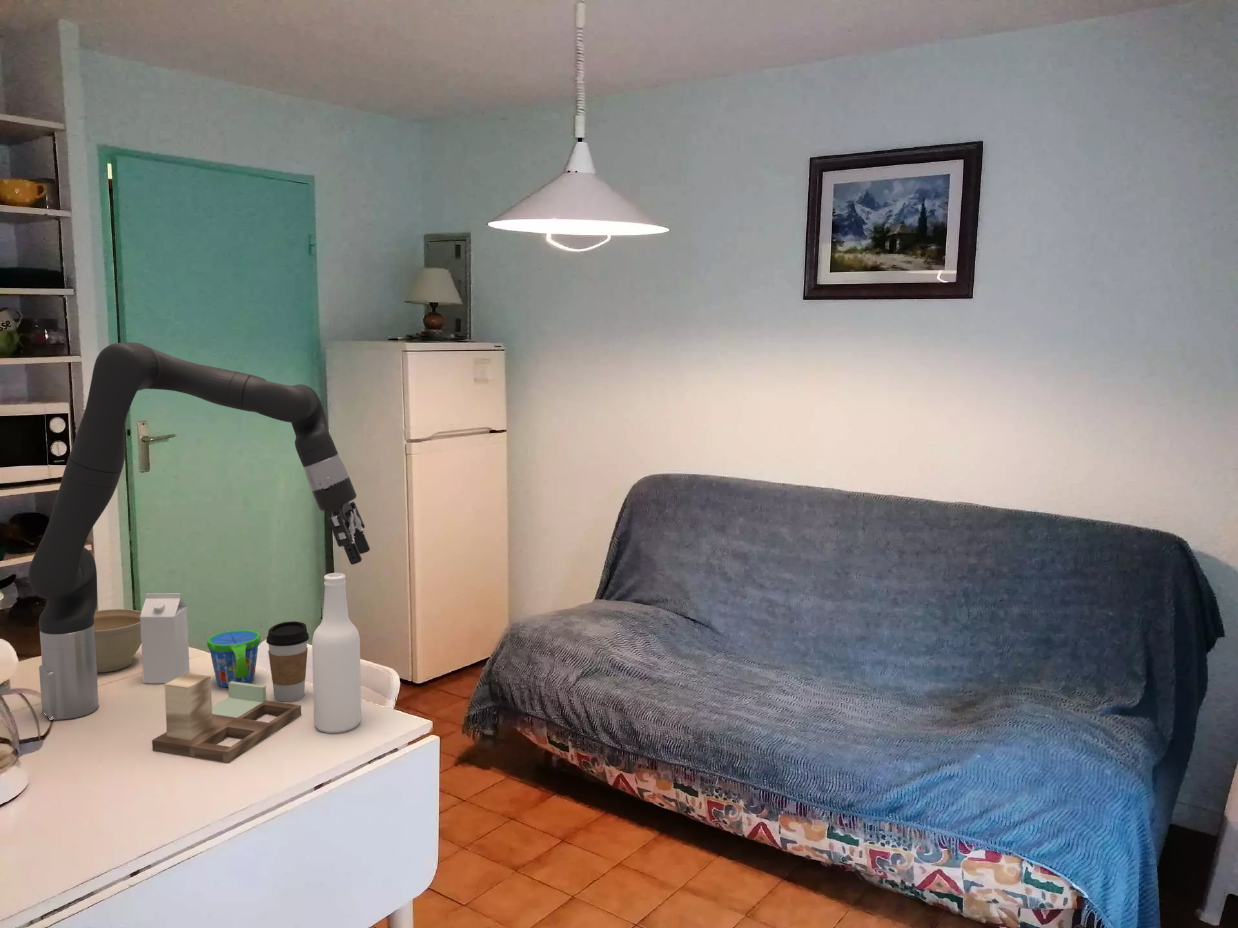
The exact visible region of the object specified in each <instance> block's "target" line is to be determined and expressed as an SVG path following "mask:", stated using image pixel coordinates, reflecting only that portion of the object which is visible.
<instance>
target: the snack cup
mask: <svg viewBox="0 0 1238 928" xmlns="http://www.w3.org/2000/svg"><path fill="white" fill-rule="evenodd" d="M206 640H207V641H206V644H207V645H206V646H207V648H208V649H209V652H210V658H211V663H212V668H213V671H214V672H213V673H214V678H215V680H216V682H217V684H218V685H219V686H220V687H222V688H224V687H225V688H229V687H228V683H229V682H231V681H234V682H241V683H248V684H251V683H252V682H254V679H255V675H256V665H257V659H258V650H259V644H260V643H261V634H260V633H259V632H258V631H255V630H250V629H235V630H234V629H233V630H227V631H223V632H222V631H221V632H218V633H216V634H213V635H211V636H209V637H208V638H207V639H206Z"/></svg>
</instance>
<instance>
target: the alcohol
mask: <svg viewBox="0 0 1238 928" xmlns="http://www.w3.org/2000/svg"><path fill="white" fill-rule="evenodd" d="M346 577H347V576H346V574H345V573H342V572H332V573H331V572H330V573H327V574H325V575H324V576H323V578H324V582H323V585H324V592H323V593H324V594H323V595H324V597H323V610H322V611H323V613H322V618H321V622H320V624H319V625H318V626H317V627H316V629H315V631H314V632H313V636H312V639H311V644H312V645H311V646H312V647H311V648H312V649H311V651H312V653H311V654H312V657H311V658H312V689H313V690H312V691H313V693H312V695H313V699H312V700H313V723H314V726H315V728H316V729H317V730H318V731H320V732H322V733H326V734H340V733H341V734H342V733H346V732H349V731H352V730H354V729H356V728H357V727H358V726H359V724H360V722H361V720H362V691H361V690H362V687H361V639H360V638H361V637H360V633H359V630H358V628H357V627H356V626H355V624H354V623H353V622H352V621H351V619H350V617H349V609H348V598H347V590H346V589H347V588H346V585H347V584H346V583H347V581H346Z"/></svg>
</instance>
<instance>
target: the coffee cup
mask: <svg viewBox="0 0 1238 928" xmlns="http://www.w3.org/2000/svg"><path fill="white" fill-rule="evenodd" d="M309 639H310V635H309V632H308V629H307V624H306V623H304V622H301V621H295V620H293V621H283V622H279V623H277V624H275V625H273V626H272V627H270V628H269V629H268V633H267V637H266V641H265V642H266V644H267V645H268V651H267V653H268V659H269V667H270V673H271V680H272V681H271V683H272V688H273V697H274V701H276V702H282V703H288V702H289V703H290V702H295V701H299V700H300V699H302V698H304V697H305V688H306V687H305V686H306V673H307V663H308V661H307V660H308V640H309ZM298 699H299V700H298Z"/></svg>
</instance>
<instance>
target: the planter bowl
mask: <svg viewBox="0 0 1238 928" xmlns="http://www.w3.org/2000/svg"><path fill="white" fill-rule="evenodd" d="M141 612H142V611H140V610H134V609H129V608H128V609H127V608H114V609H113V608H112V609H111V608H110V609H102V610H96V611H95V614H94V631H95V648H96V666H97V674H98V673H107V672H115V671H118V670H121V669H124V668H127V667H129V666H130V665H131V664H132V660H133V657H134V656H135V655H136V654H137V652H138V650H139V649H140V646H142V645H141V625H140V615H141Z"/></svg>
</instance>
